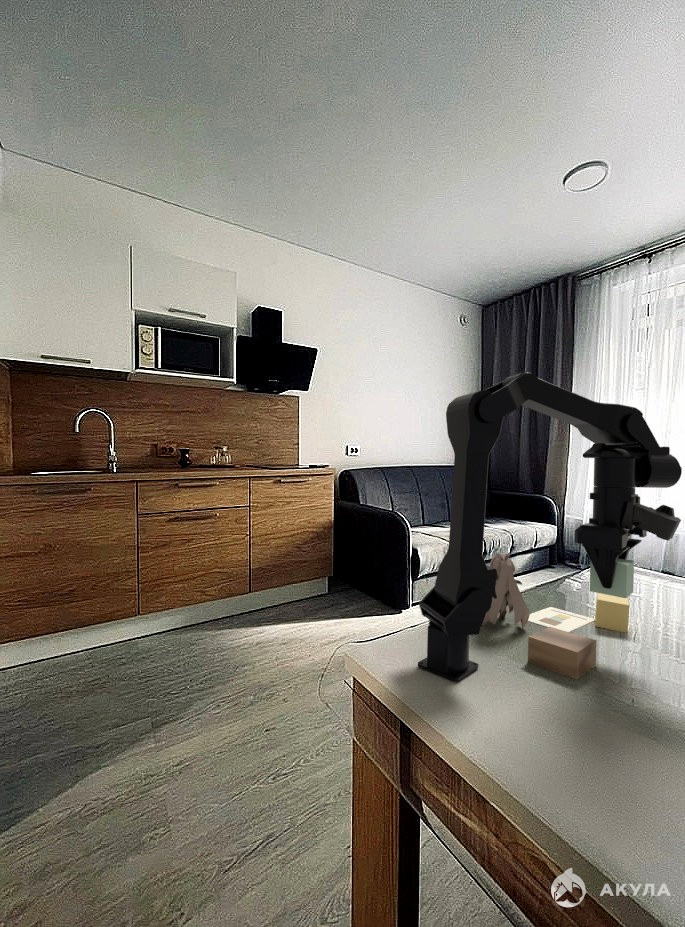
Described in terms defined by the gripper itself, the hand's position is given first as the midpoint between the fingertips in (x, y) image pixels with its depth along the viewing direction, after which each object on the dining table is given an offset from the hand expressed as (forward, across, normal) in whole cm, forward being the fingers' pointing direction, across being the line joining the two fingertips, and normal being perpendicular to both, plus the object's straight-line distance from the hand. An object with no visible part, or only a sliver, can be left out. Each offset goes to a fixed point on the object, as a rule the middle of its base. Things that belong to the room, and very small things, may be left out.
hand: (611, 585), depth 71 cm
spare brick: (+11, +14, +3) cm, 18 cm away
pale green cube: (+1, 0, 0) cm, 1 cm away
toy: (+11, -1, +18) cm, 21 cm away
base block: (+11, -10, +4) cm, 15 cm away
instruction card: (+11, +10, +11) cm, 18 cm away
